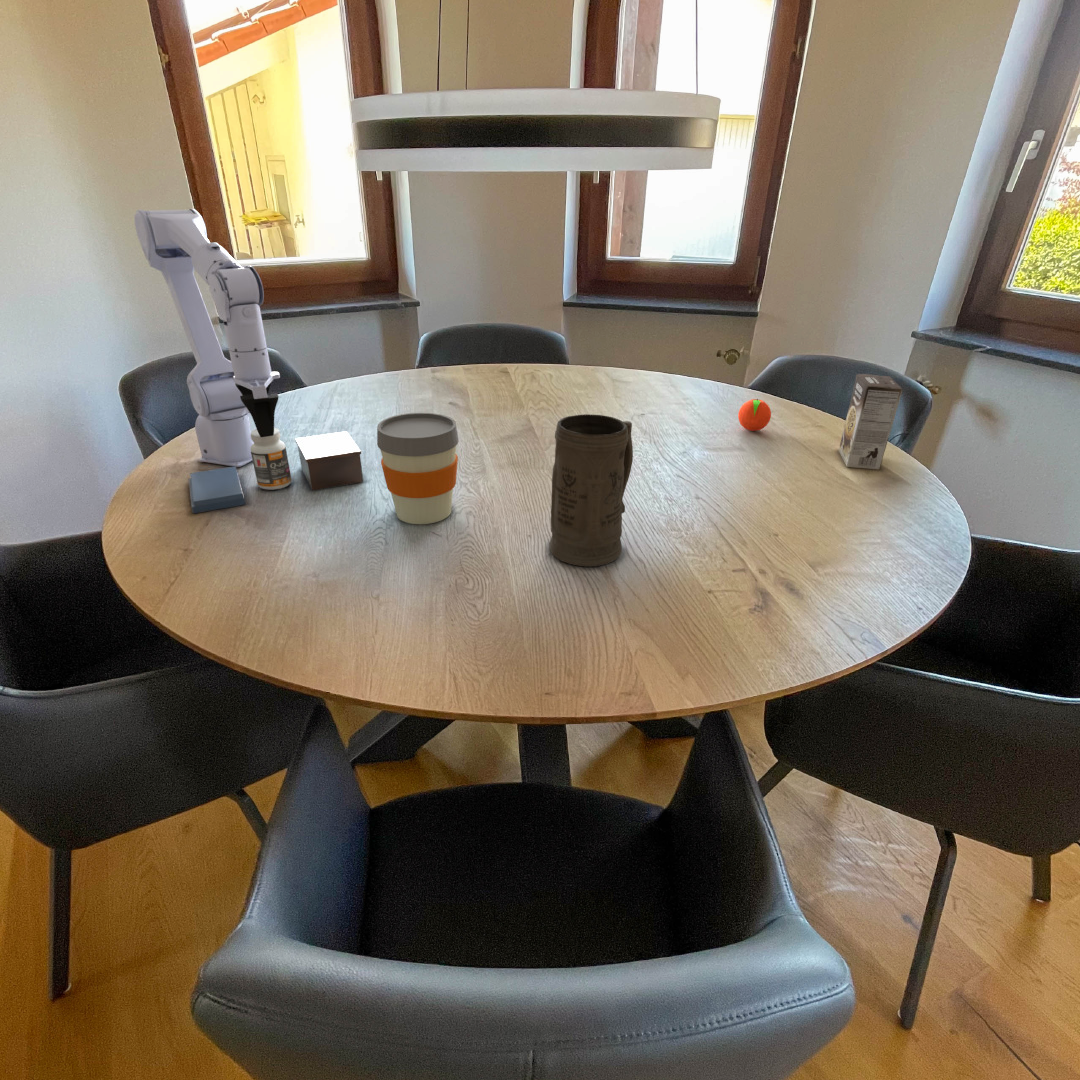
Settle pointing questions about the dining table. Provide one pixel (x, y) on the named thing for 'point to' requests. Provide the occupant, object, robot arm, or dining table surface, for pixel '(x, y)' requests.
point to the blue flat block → (215, 489)
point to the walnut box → (330, 460)
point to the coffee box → (869, 420)
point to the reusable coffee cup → (419, 464)
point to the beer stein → (589, 488)
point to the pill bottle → (270, 461)
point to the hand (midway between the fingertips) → (264, 429)
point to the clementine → (754, 415)
